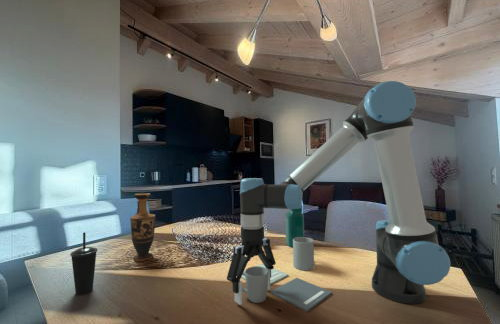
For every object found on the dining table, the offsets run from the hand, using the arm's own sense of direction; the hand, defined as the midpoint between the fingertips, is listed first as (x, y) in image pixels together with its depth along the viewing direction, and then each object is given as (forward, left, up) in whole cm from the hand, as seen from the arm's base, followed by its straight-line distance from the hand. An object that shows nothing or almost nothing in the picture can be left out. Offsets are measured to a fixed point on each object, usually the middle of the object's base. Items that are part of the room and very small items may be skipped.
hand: (253, 295), depth 76 cm
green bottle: (+22, -51, -1) cm, 56 cm away
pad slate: (-9, -13, -1) cm, 16 cm away
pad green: (+9, -13, -1) cm, 16 cm away
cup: (0, 0, -1) cm, 1 cm away
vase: (+60, +14, -1) cm, 62 cm away
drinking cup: (+43, +39, -1) cm, 58 cm away
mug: (+4, -33, -1) cm, 33 cm away
